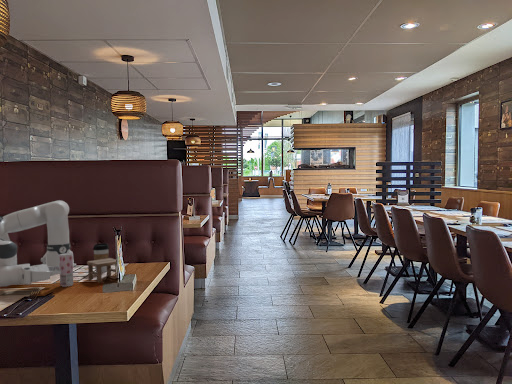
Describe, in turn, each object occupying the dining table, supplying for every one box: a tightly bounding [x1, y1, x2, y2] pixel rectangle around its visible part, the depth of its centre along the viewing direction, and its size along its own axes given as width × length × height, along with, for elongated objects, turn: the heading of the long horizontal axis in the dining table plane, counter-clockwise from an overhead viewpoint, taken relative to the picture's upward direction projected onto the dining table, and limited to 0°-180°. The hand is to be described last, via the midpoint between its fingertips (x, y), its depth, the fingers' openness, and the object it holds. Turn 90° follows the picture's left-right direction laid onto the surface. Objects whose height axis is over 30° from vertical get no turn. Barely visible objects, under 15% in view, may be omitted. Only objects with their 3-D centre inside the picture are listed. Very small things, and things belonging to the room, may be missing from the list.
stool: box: [86, 257, 117, 284], centre depth 201 cm, size 12×12×9 cm
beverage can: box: [59, 253, 74, 288], centre depth 189 cm, size 6×6×15 cm
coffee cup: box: [92, 242, 110, 273], centre depth 219 cm, size 8×8×15 cm
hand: (59, 269), depth 187 cm, fingers open, 8 cm apart
